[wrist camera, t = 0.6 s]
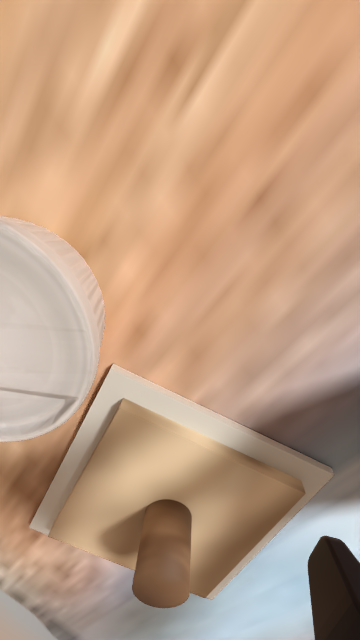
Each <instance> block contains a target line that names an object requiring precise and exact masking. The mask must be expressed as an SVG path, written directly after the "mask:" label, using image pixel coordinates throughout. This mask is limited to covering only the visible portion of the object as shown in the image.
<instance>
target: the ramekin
mask: <svg viewBox="0 0 360 640" xmlns="http://www.w3.org/2000/svg"><path fill="white" fill-rule="evenodd" d="M104 307H105V306H104V301H103V298H102V292H101V290H100V288H99V286H98V282H97V279H96V278H95V276H94V275H93V273H92V270H91V269H90V267H89V266H88V265H87V263H86V262H85V260H84V258H83V257H82V256H81V255H80V254H79V253H78V252H77V251H76V250H75V249H74V248H73V247H72V246H71V245H70V244H69V243H68V242H67V241H65V240H63V239H62V238H60V237H59V236H58V235H57V234H55V233H53V232H51V231H49V230H47V229H46V228H44V227H41V226H38V225H36V224H34V223H32V222H28V221H23V220H20V219H16V218H10V217H3V216H0V442H15V441H23V440H28V439H32V438H35V437H38V436H41V435H44V434H46V433H48V432H50V431H52V430H54V429H56V428H57V427H59V426H60V425H62V424H63V423H65V422H66V421H67V420H68V419H69V418H70V417H71V416H72V415H73V414H74V413H75V412H76V411H77V409H78V408H79V407H80V406H81V404H82V403H83V401H84V400H85V398H86V396H87V394H88V392H89V391H90V388H91V386H92V384H93V382H94V379H95V376H96V372H97V368H98V362H99V354H100V346H101V343H102V339H103V333H104V329H105V322H104V320H105V311H104Z"/></svg>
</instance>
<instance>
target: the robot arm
mask: <svg viewBox="0 0 360 640" xmlns="http://www.w3.org/2000/svg"><path fill="white" fill-rule="evenodd" d="M308 575H309V585H310V595H311V605H312V615H313V625H314V635H315V640H360V563H359V561H358V560H357V559H356V558H355V556H354V555H353V554H352V552H351V551H350V550H349V548H348V547H347V546H346V545H345V543H344V542H343V541H341V540H340V539H337V538H333V537H329V536H323V537H321V538H320V540H319V541H318V543H317V545H316V546H315V548H314V550H313V551H312V553H311V555H310V557H309V560H308Z"/></svg>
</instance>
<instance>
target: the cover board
mask: <svg viewBox="0 0 360 640" xmlns="http://www.w3.org/2000/svg"><path fill="white" fill-rule="evenodd" d="M305 494H306V493H305V490H304V487H303V484H302V481H301V480H299V479H297V478H295V477H292V476H290V475H288V474H286V473H284V472H282V471H280V470H277V469H275V468H273V467H271V466H269V465H267V464H265V463H262V462H260V461H258V460H256V459H254V458H252V457H249V456H247V455H245V454H243V453H241V452H239V451H237V450H234V449H232V448H230V447H228V446H226V445H224V444H222V443H219V442H217V441H215V440H213V439H211V438H209V437H207V436H204V435H202V434H200V433H198V432H196V431H194V430H191V429H189V428H187V427H185V426H183V425H181V424H179V423H176V422H174V421H172V420H170V419H168V418H166V417H164V416H161V415H159V414H157V413H155V412H153V411H151V410H149V409H146V408H144V407H142V406H140V405H138V404H136V403H134V402H131V401H129V400H127V399H125V398H123V399H122V401H121V403H120V405H119V406H118V408H117V410H116V412H115V414H114V415H113V417H112V419H111V421H110V423H109V424H108V426H107V428H106V430H105V432H104V433H103V435H102V437H101V439H100V441H99V442H98V444H97V446H96V448H95V450H94V451H93V453H92V455H91V457H90V459H89V460H88V462H87V464H86V466H85V468H84V469H83V471H82V473H81V475H80V477H79V478H78V480H77V482H76V484H75V485H74V487H73V489H72V491H71V493H70V494H69V496H68V498H67V500H66V502H65V503H64V505H63V507H62V509H61V511H60V512H59V514H58V516H57V518H56V520H55V521H54V523H53V525H52V528H51V530H50V532H49V535H48V537H51V538H54V539H56V540H59V541H61V542H64V543H66V544H69V545H71V546H74V547H76V548H79V549H81V550H84V551H86V552H89V553H91V554H94V555H97V556H99V557H102V558H104V559H107V560H109V561H112V562H114V563H117V564H119V565H122V566H124V567H127V568H129V569H132V570H134V571H135V573H134V579H133V585H132V590H133V593H134V595H135V596H136V597H137V598H138V599H139V600H140V601H141V602H143V603H145V604H147V605H150V606H153V607H158V608H171V607H176V606H178V605H181V604H182V603H184V602H185V601H186V600H187V599H188V597H189V592H190V593H193V594H195V595H198V596H200V597H203V598H206V597H207V596H208V595H209V594H210V593H211V592H212V590H213V589H214V588H215V587H216V586H217V585H218V584H219V583H220V582H221V581H222V580H223V579H224V578H225V577H226V576H227V575H228V574H229V573H230V572H231V571H232V570H233V569H234V568H235V567H236V566H237V565H238V563H239V562H240V561H241V560H242V559H243V558H244V557H245V556H246V555H247V554H248V553H249V552H250V551H251V550H252V549H253V548H254V547H255V546H256V545H257V544H258V543H259V542H260V541H261V540H262V539H263V538H264V536H265V535H266V534H267V533H268V532H269V531H270V530H271V529H272V528H273V527H274V526H275V525H276V524H277V523H278V522H279V521H280V520H281V519H282V518H283V517H284V516H285V515H286V514H287V513H288V512H289V511H290V509H291V508H292V507H293V506H294V505H295V504H296V503H297V502H298V501H299V500H300V499H301V498H302V497H303V496H304V495H305Z"/></svg>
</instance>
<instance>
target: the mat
mask: <svg viewBox="0 0 360 640" xmlns="http://www.w3.org/2000/svg"><path fill="white" fill-rule="evenodd" d="M123 398H125V399H127V400H129V401H131V402H134V403H136V404H138V405H140V406H142V407H144V408H146V409H149V410H151V411H153V412H155V413H157V414H159V415H161V416H164V417H166V418H168V419H170V420H172V421H174V422H176V423H179V424H181V425H183V426H185V427H187V428H189V429H191V430H194V431H196V432H198V433H200V434H202V435H204V436H207V437H209V438H211V439H213V440H215V441H217V442H219V443H222V444H224V445H226V446H228V447H230V448H232V449H234V450H237V451H239V452H241V453H243V454H245V455H247V456H249V457H252V458H254V459H256V460H258V461H260V462H262V463H265V464H267V465H269V466H271V467H273V468H275V469H277V470H280V471H282V472H284V473H286V474H288V475H290V476H292V477H295V478H297V479H299V480H301V481H302V484H303V487H304V490H305V493H306V494H305V495H304V496H303V497H302V498H301V499H300V500H299V501H298V502H297V503H296V504H295V505H294V506H293V507H292V508H291V509H290V511H289V512H288V513H287V514H286V515H285V516H284V517H283V518H282V519H281V520H280V521H279V522H278V523H277V524H276V525H275V526H274V527H273V528H272V529H271V530H270V531H269V532H268V533H267V534H266V535H265V536H264V538H263V539H262V540H261V541H260V542H259V543H258V544H257V545H256V546H255V547H254V548H253V549H252V550H251V551H250V552H249V553H248V554H247V555H246V556H245V557H244V558H243V559H242V560H241V561H240V562H239V563H238V565H237V566H236V567H235V568H234V569H233V570H232V571H231V572H230V573H229V574H228V575H227V576H226V577H225V578H224V579H223V580H222V581H221V582H220V583H219V584H218V585H217V586H216V587H215V588H214V589H213V590H212V592H211V593H210V594H209V595H208V596H207V597H206V598H208V599H210V600H212V599H213V598H214V597H215V596H216V595H217V594H218V593H219V592H220V591H221V590H222V589H223V588H224V587H225V586H226V585H227V584H228V583H229V582H230V581H231V580H232V579H233V578H234V577H235V576H236V575H237V574H238V573H239V572H240V571H241V570H242V569H243V568H244V567H245V566H246V565H247V564H248V563H249V562H250V561H251V560H252V559H253V558H254V557H255V556H256V555H257V554H258V553H259V552H260V550H261V549H262V548H263V547H264V546H265V545H266V544H267V543H268V542H269V541H270V540H271V539H272V538H273V537H274V536H275V535H276V534H277V533H278V532H279V531H280V530H281V529H282V528H283V527H284V526H285V525H286V524H287V523H288V522H289V521H290V520H291V519H292V518H293V517H294V516H295V515H296V514H297V513H298V512H299V511H300V510H301V509H302V508H303V507H304V506H305V505H306V504H307V503H308V502H309V501H310V500H311V499H312V497H313V496H314V495H315V494H316V493H317V492H318V491H319V490H320V489H321V488H322V487H323V486H324V485H325V484H326V483H327V482H328V481H329V480H330V479H331V478H332V477H333V476H334V473H333V471H332V468H331V467H329V466H326V465H324V464H322V463H320V462H318V461H316V460H314V459H312V458H310V457H308V456H306V455H303V454H301V453H299V452H297V451H295V450H293V449H291V448H289V447H287V446H285V445H283V444H280V443H278V442H276V441H274V440H272V439H270V438H268V437H266V436H264V435H262V434H259V433H257V432H255V431H253V430H251V429H249V428H247V427H245V426H243V425H241V424H239V423H236V422H234V421H232V420H230V419H228V418H226V417H224V416H222V415H220V414H218V413H216V412H213V411H211V410H209V409H207V408H205V407H203V406H201V405H199V404H197V403H195V402H193V401H190V400H188V399H186V398H184V397H182V396H180V395H178V394H176V393H174V392H172V391H169V390H167V389H165V388H163V387H161V386H159V385H157V384H155V383H153V382H151V381H149V380H146V379H144V378H142V377H140V376H138V375H136V374H134V373H132V372H130V371H128V370H126V369H123V368H121V367H119V366H117V365H115V364H113V365H112V367H111V369H110V370H109V372H108V374H107V376H106V378H105V380H104V382H103V384H102V386H101V388H100V390H99V392H98V394H97V396H96V398H95V400H94V402H93V403H92V405H91V407H90V409H89V411H88V413H87V415H86V417H85V419H84V421H83V423H82V425H81V427H80V429H79V431H78V433H77V434H76V436H75V438H74V440H73V442H72V444H71V446H70V448H69V450H68V452H67V454H66V456H65V458H64V460H63V462H62V464H61V465H60V467H59V469H58V471H57V473H56V475H55V477H54V479H53V481H52V483H51V485H50V487H49V489H48V491H47V493H46V495H45V497H44V498H43V500H42V502H41V504H40V506H39V508H38V510H37V512H36V514H35V516H34V518H33V520H32V522H31V524H30V526H29V528H31V529H33V530H36V531H38V532H41V533H44V534H46V535H49V532H50V530H51V528H52V525H53V523H54V521H55V520H56V518H57V516H58V514H59V512H60V511H61V509H62V507H63V505H64V503H65V502H66V500H67V498H68V496H69V494H70V493H71V491H72V489H73V487H74V485H75V484H76V482H77V480H78V478H79V477H80V475H81V473H82V471H83V469H84V468H85V466H86V464H87V462H88V460H89V459H90V457H91V455H92V453H93V451H94V450H95V448H96V446H97V444H98V442H99V441H100V439H101V437H102V435H103V433H104V432H105V430H106V428H107V426H108V424H109V423H110V421H111V419H112V417H113V415H114V414H115V412H116V410H117V408H118V406H119V405H120V403H121V401H122V399H123Z"/></svg>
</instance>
